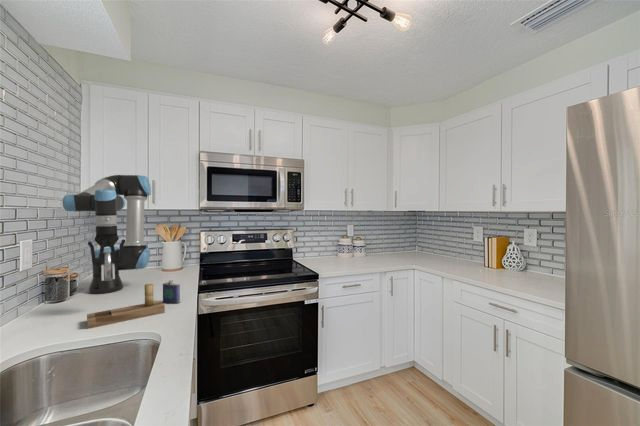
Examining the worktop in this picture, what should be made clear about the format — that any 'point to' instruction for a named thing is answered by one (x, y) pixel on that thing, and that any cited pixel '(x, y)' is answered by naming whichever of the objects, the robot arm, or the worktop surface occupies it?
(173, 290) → the flask
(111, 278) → the peg
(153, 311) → the board
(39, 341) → the worktop surface
